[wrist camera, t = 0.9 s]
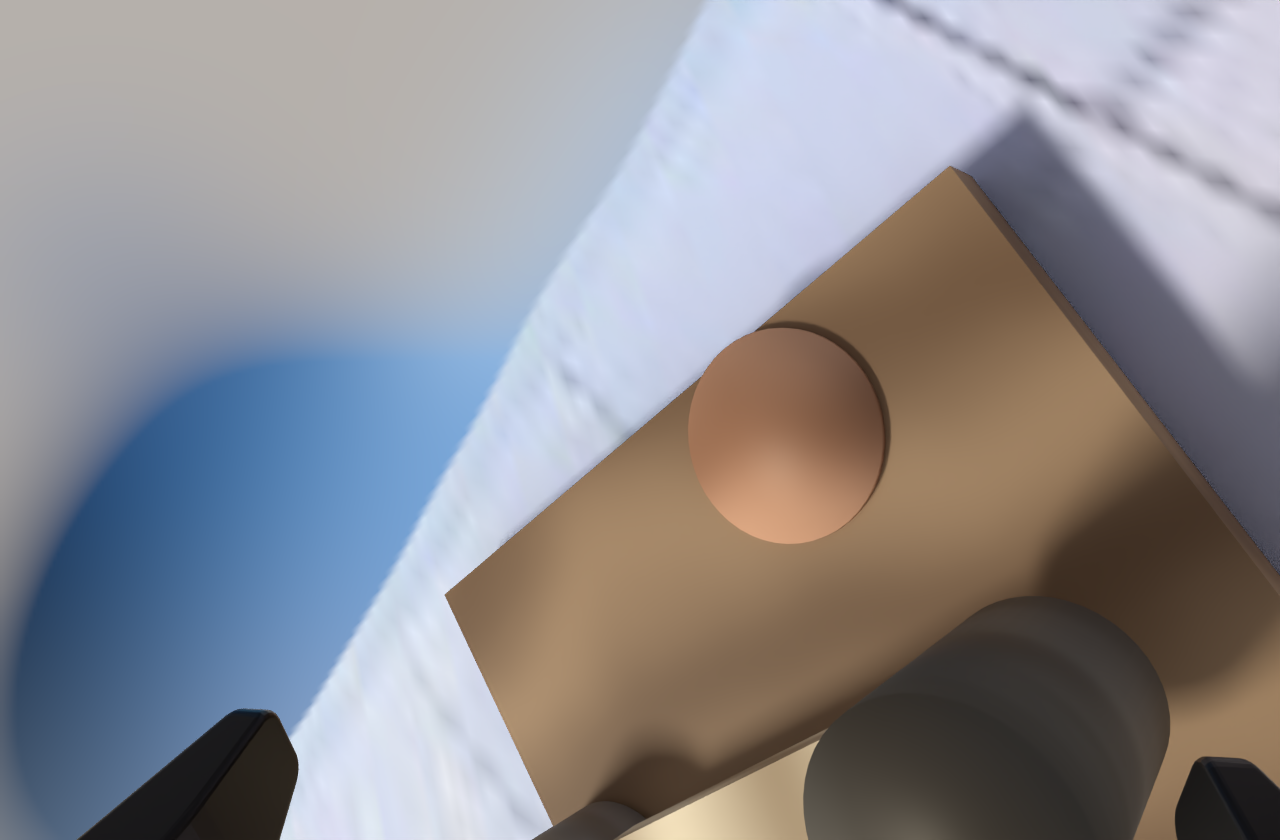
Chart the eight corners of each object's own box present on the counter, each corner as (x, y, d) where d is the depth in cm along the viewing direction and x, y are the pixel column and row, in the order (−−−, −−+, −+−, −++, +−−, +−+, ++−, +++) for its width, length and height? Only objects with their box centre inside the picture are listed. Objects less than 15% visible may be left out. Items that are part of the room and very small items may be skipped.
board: (1462, 811, 16) (1474, 853, 15) (697, 1038, 27) (664, 1075, 25) (968, 172, 21) (943, 160, 19) (477, 582, 31) (438, 593, 30)
